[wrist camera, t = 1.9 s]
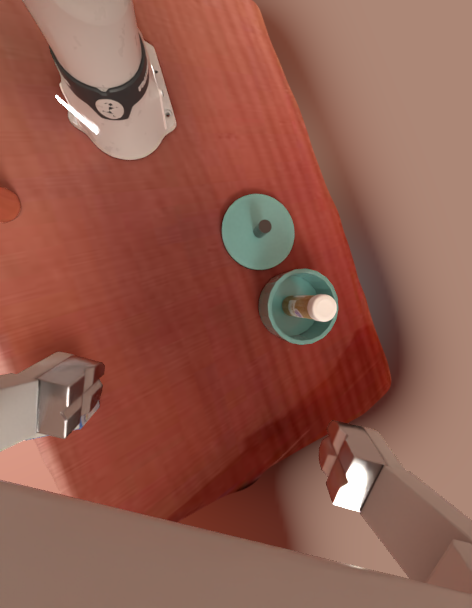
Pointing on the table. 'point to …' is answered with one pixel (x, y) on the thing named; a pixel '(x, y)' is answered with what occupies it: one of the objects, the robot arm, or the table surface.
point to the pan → (294, 326)
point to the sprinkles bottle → (310, 307)
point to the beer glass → (8, 205)
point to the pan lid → (257, 231)
